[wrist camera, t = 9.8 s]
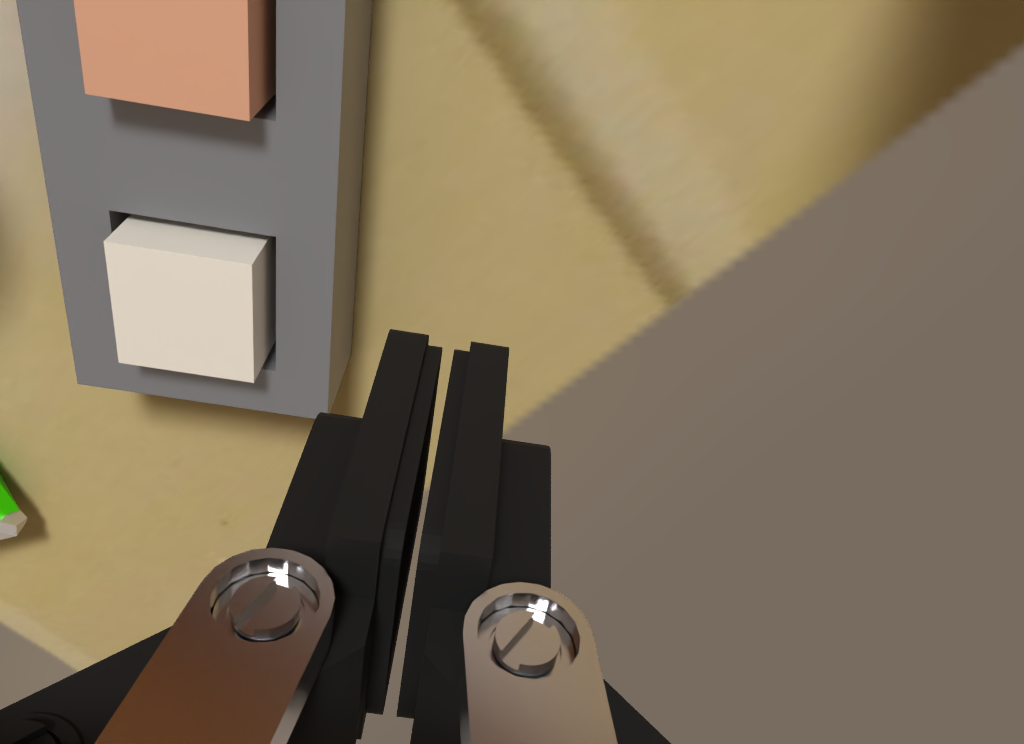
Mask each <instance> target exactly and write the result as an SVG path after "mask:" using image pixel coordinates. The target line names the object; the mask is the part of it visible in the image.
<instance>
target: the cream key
mask: <svg viewBox="0 0 1024 744" xmlns="http://www.w3.org/2000/svg"><path fill="white" fill-rule="evenodd" d="M104 249H105V257H106V265H107V273H108V281H109V289H110V297H111V305H112V313H113V321H114V329H115V337H116V345H117V353H118V361H119V363H124V364H130V365H137V366H144V367H151V368H157V369H164V370H171V371H177V372H184V373H191V374H197V375H204V376H211V377H217V378H224V379H231V380H238V381H244V382H251V383H254V382H255V380H256V378H257V376H258V374H259V372H260V370H261V368H262V366H263V364H264V362H265V360H266V358H267V356H268V354H269V352H270V350H271V348H272V346H273V344H274V342H275V341H276V237H274V236H268V235H261V234H255V233H249V232H243V231H236V230H230V229H224V228H218V227H211V226H205V225H199V224H192V223H186V222H180V221H174V220H167V219H161V218H155V217H148V216H142V215H136V214H131V215H130V216H129V217H128V218H127V219H126V220H125V221H124V222H123V223H122V224H121V225H120V226H119V227H118V228H117V229H116V230H115V231H114V232H113V233H112V234H111V235H110V236H109V237H108V238H106V239H105V240H104Z"/></svg>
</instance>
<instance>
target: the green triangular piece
mask: <svg viewBox="0 0 1024 744" xmlns="http://www.w3.org/2000/svg"><path fill="white" fill-rule="evenodd" d="M26 521H27V517H26V516H25V515H24V513H23V512H22V511H21V510H20V509H19V507H18V505H17V504H16V502H15V500H14V498H13V496H12V495H11V493H10V491H9V489H8V487H7V486H6V484H5V482H4V480H3V478H2V477H1V475H0V540H2V539H6V538H11V537H16V536H17V535H18V534H19V532H20V531H21V529H22V528H23V527H24V525H25V524H26Z"/></svg>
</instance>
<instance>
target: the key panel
mask: <svg viewBox="0 0 1024 744" xmlns="http://www.w3.org/2000/svg"><path fill="white" fill-rule="evenodd" d="M16 2H17V8H18V15H19V21H20V27H21V33H22V40H23V46H24V52H25V58H26V65H27V71H28V77H29V83H30V89H31V96H32V102H33V108H34V114H35V121H36V127H37V133H38V139H39V145H40V152H41V158H42V164H43V170H44V177H45V183H46V189H47V195H48V202H49V208H50V214H51V220H52V226H53V233H54V239H55V245H56V251H57V258H58V264H59V270H60V276H61V283H62V289H63V295H64V301H65V307H66V314H67V320H68V326H69V332H70V339H71V345H72V351H73V357H74V363H75V370H76V376H77V382H78V384H82V385H89V386H96V387H103V388H109V389H116V390H123V391H130V392H137V393H143V394H150V395H157V396H164V397H170V398H177V399H184V400H191V401H197V402H204V403H211V404H218V405H225V406H231V407H238V408H245V409H252V410H258V411H265V412H272V413H279V414H286V415H292V416H299V417H306V418H313V419H316V417H317V415H318V414H319V413H320V412H323V413H330V411H331V409H332V406H333V403H334V400H335V397H336V395H337V392H338V389H339V386H340V384H341V381H342V378H343V375H344V372H345V370H346V367H347V364H348V361H349V359H350V356H351V348H352V332H353V315H354V299H355V282H356V266H357V249H358V233H359V216H360V200H361V183H362V167H363V150H364V134H365V117H366V101H367V84H368V68H369V51H370V35H371V18H372V2H373V0H276V93H275V95H274V96H273V97H272V98H271V99H270V100H269V101H268V102H267V103H266V104H265V105H264V106H263V107H262V108H261V110H260V111H259V112H258V113H257V114H256V115H255V116H254V117H253V118H252V119H251V120H250V121H245V120H239V119H233V118H227V117H221V116H215V115H209V114H203V113H197V112H191V111H185V110H179V109H173V108H167V107H161V106H155V105H149V104H143V103H137V102H131V101H125V100H119V99H113V98H107V97H101V96H95V95H89V94H85V88H84V80H83V72H82V64H81V56H80V48H79V40H78V32H77V24H76V16H75V8H74V0H16ZM131 214H136V215H142V216H148V217H155V218H161V219H167V220H174V221H180V222H186V223H192V224H199V225H205V226H211V227H218V228H224V229H230V230H236V231H243V232H249V233H255V234H261V235H268V236H274V237H276V341H275V342H274V344H273V346H272V348H271V350H270V352H269V354H268V356H267V358H266V360H265V362H264V364H263V366H262V368H261V370H260V372H259V374H258V376H257V378H256V380H255V382H254V383H251V382H244V381H238V380H231V379H224V378H217V377H211V376H204V375H197V374H191V373H184V372H177V371H171V370H164V369H157V368H151V367H144V366H137V365H130V364H124V363H119V361H118V353H117V345H116V337H115V329H114V321H113V313H112V305H111V297H110V289H109V281H108V273H107V265H106V257H105V249H104V240H105V239H106V238H108V237H109V236H110V235H111V234H112V233H113V232H114V231H115V230H116V229H117V228H118V227H119V226H120V225H121V224H122V223H123V222H124V221H125V220H126V219H127V218H128V217H129V216H130V215H131Z"/></svg>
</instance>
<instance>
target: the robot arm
mask: <svg viewBox="0 0 1024 744" xmlns="http://www.w3.org/2000/svg"><path fill="white" fill-rule="evenodd" d="M428 342H429V335H425V334H419V333H412V332H406V331H399V330H393V329H390V331H389V333H388V337H387V340H386V343H385V347H384V350H383V353H382V356H381V360H380V363H379V366H378V370H377V373H376V376H375V379H374V383H373V386H372V389H371V393H370V396H369V399H368V402H367V406H366V409H365V412H364V415H363V418H357V417H350V416H343V415H337V414H330V413H323V412H320V413H319V414H318V415H317V417H316V419H315V421H314V424H313V426H312V429H311V431H310V434H309V437H308V439H307V442H306V445H305V447H304V450H303V453H302V455H301V458H300V460H299V463H298V466H297V468H296V471H295V474H294V476H293V479H292V481H291V484H290V487H289V489H288V492H287V495H286V497H285V500H284V502H283V505H282V508H281V510H280V513H279V516H278V518H277V521H276V523H275V526H274V529H273V531H272V534H271V537H270V539H269V542H268V544H267V547H266V548H264V549H254V550H250V551H247V552H244V553H240V554H237V555H234V556H232V557H230V558H229V559H227V560H225V561H224V562H222V563H221V564H219V565H217V566H216V567H214V569H213V570H212V571H211V572H210V573H209V574H208V575H207V576H206V577H205V578H204V579H203V581H202V582H201V583H200V585H199V586H198V588H197V589H196V591H195V592H194V594H193V595H192V597H191V598H190V600H189V602H188V603H187V605H186V606H185V608H184V609H183V611H182V612H181V614H180V615H179V617H178V618H177V620H176V621H175V623H174V624H173V626H171V627H169V628H167V629H165V630H163V631H161V632H159V633H157V634H155V635H153V636H151V637H149V638H147V639H145V640H143V641H140V642H138V643H136V644H134V645H132V646H130V647H128V648H126V649H124V650H122V651H120V652H118V653H116V654H114V655H112V656H110V657H108V658H106V659H104V660H102V661H100V662H97V663H95V664H93V665H91V666H89V667H87V668H85V669H83V670H81V671H79V672H77V673H75V674H73V675H71V676H69V677H67V678H65V679H63V680H61V681H59V682H57V683H55V684H52V685H51V686H49V687H46V688H44V689H42V690H40V691H38V692H36V693H34V694H32V695H30V696H28V697H26V698H24V699H22V700H20V701H18V702H16V703H13V704H11V705H9V706H7V707H5V708H3V709H1V710H0V744H355V743H356V739H361V736H362V732H363V727H364V722H365V717H366V713H374V714H383V711H384V706H385V700H386V695H387V690H388V684H389V678H390V673H391V668H392V663H393V657H394V652H395V646H396V641H397V635H398V630H399V624H400V619H401V614H402V608H403V602H404V597H405V592H406V586H407V581H408V575H409V570H410V564H411V559H412V554H413V548H414V543H415V538H416V532H417V527H418V521H419V516H420V510H421V504H422V498H423V491H424V484H425V476H426V469H427V461H428V454H429V446H430V439H431V431H432V424H433V416H434V408H435V401H436V393H437V386H438V378H439V371H440V363H441V356H442V347H436V346H429V345H428ZM508 357H509V347H503V346H496V345H490V344H483V343H477V342H471V346H470V352H468V351H462V350H454V355H453V361H452V366H451V372H450V378H449V383H448V389H447V395H446V400H445V406H444V412H443V417H442V423H441V429H440V434H439V440H438V446H437V451H436V457H435V463H434V468H433V474H432V480H431V485H430V491H429V497H428V503H427V508H426V514H425V520H424V525H423V531H422V537H421V544H420V550H419V556H418V564H417V570H416V577H415V585H414V592H413V600H412V607H411V614H410V622H409V629H408V636H407V643H406V651H405V658H404V666H403V673H402V680H401V688H400V695H399V703H398V710H397V717H405V718H413V719H414V722H413V728H412V735H411V742H410V744H671V743H670V742H669V741H668V740H667V739H666V738H664V737H663V736H662V735H661V734H660V733H659V732H658V731H657V730H656V729H655V728H654V727H653V726H652V725H651V724H650V723H649V722H648V721H647V720H646V719H645V718H644V717H643V716H641V715H640V714H639V713H638V712H637V711H636V710H635V709H634V708H633V707H632V706H631V705H630V704H629V703H628V702H627V701H626V700H625V699H624V698H623V697H622V696H621V695H620V694H619V693H618V692H617V691H615V690H614V689H613V688H612V687H611V686H610V685H609V684H608V683H607V682H606V681H605V680H604V679H603V677H602V673H601V668H600V663H599V659H598V654H597V650H596V645H595V641H594V636H593V633H592V631H591V628H590V626H589V623H588V621H587V618H586V617H585V616H584V615H583V613H582V612H581V611H580V610H579V608H578V607H577V606H576V605H575V604H574V603H573V602H572V601H570V600H569V599H568V598H566V597H565V596H563V595H562V594H561V593H559V592H557V591H555V590H552V589H551V451H550V447H549V446H546V445H539V444H532V443H525V442H519V441H511V440H505V439H502V434H503V421H504V408H505V395H506V382H507V370H508Z"/></svg>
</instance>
